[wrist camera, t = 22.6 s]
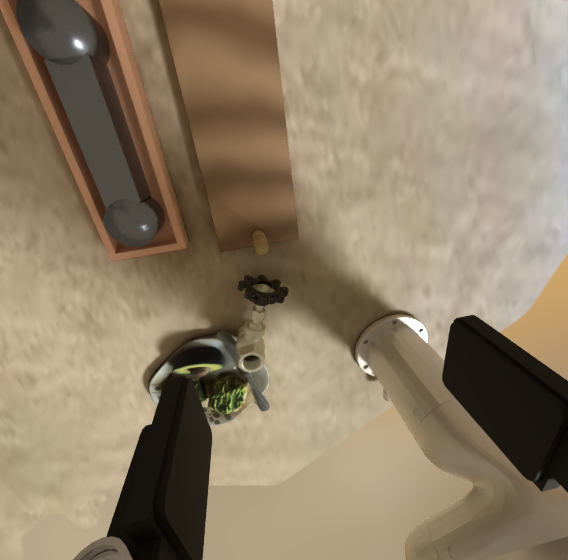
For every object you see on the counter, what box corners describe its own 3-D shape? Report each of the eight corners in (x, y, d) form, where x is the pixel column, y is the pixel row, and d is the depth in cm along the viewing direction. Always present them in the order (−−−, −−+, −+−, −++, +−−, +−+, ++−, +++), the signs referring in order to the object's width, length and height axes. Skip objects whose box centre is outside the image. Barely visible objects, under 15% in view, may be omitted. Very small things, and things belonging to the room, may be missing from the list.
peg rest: (296, 234, 37) (307, 251, 31) (221, 247, 36) (218, 267, 31) (262, -62, 25) (270, -125, 19) (148, -53, 24) (120, -116, 18)
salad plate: (299, 373, 48) (305, 394, 44) (231, 432, 52) (230, 456, 48) (209, 312, 41) (206, 331, 37) (136, 386, 44) (126, 411, 40)
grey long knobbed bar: (170, 232, 34) (162, 242, 30) (128, 239, 34) (115, 250, 30) (95, 3, 25) (72, -21, 21) (36, 9, 24) (2, -15, 21)
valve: (267, 345, 45) (284, 278, 40) (272, 376, 39) (293, 301, 34) (225, 341, 43) (238, 271, 38) (223, 373, 37) (239, 294, 32)
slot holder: (189, 241, 35) (186, 248, 33) (119, 253, 35) (111, 261, 32) (110, -25, 24) (97, -43, 22) (6, -15, 24) (-18, -33, 21)
